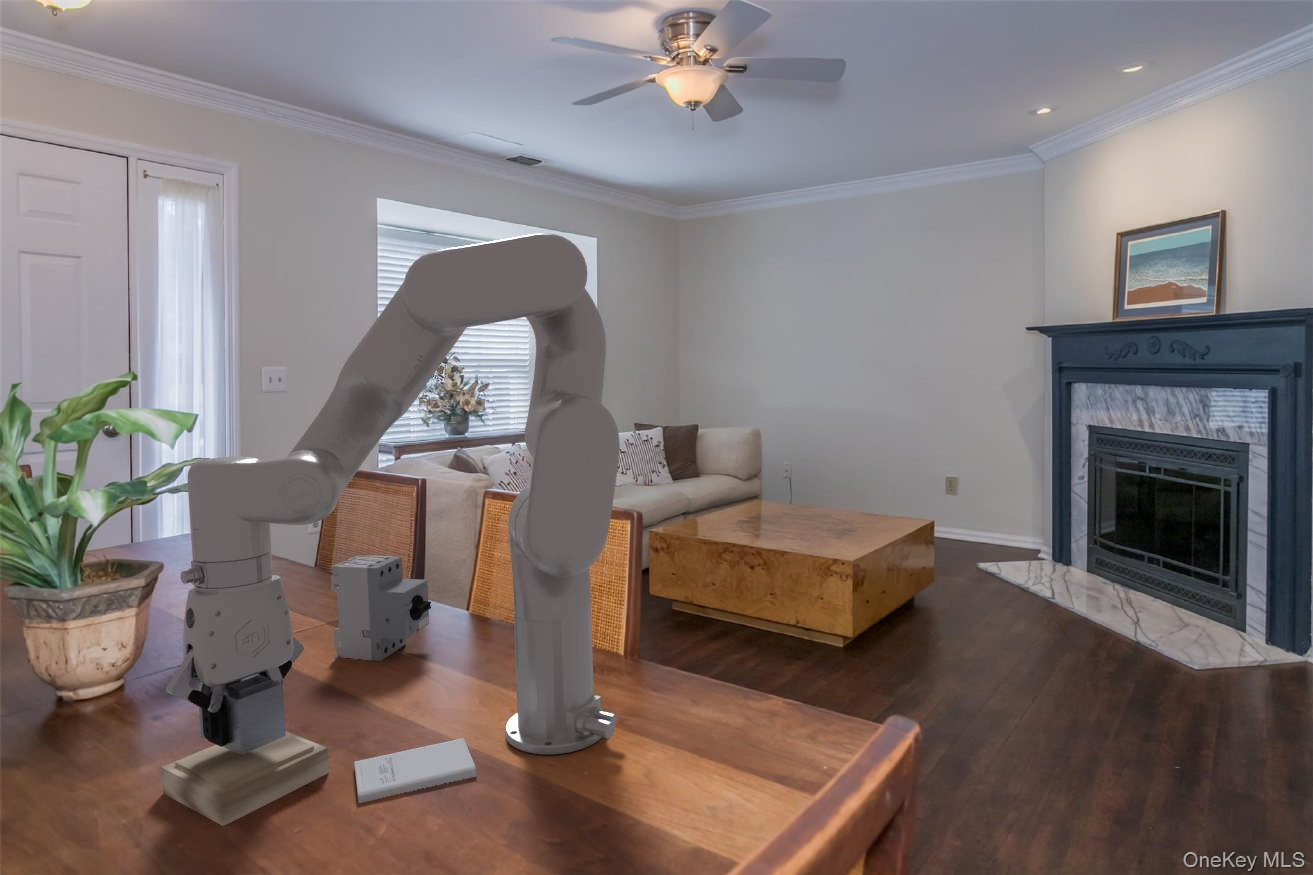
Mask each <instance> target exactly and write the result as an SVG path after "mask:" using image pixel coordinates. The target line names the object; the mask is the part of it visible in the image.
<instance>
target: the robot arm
mask: <svg viewBox="0 0 1313 875" xmlns="http://www.w3.org/2000/svg"><path fill="white" fill-rule="evenodd" d="M587 283H588V265H587V263H586V258H585V257H584V255H583V253H582V251H581V250H580V249H579V248H578V246H577V245H576V244H575V243H573V242H572V240H569V239H568V238H566V237H564V236H562V235H558V234H556V233H548V232H547V233H541V232H540V233H533V234H528V235H522V236H516V237H511V238H506V239H505V238H504V239H500V240H499V239H498V240H493V241H489V242H481V243H476V244H470V245H464V246H457V247H449V248H444V249H438V250H434V251H430V252H428V253H426V254H424V255H422V256H420V257H418V258H417V259H416V260H414V262H412V264H411V265H410V267H408V270H407V271H406V274H405V277H404V281H403V282H402V283H401V285H400V287H398V289H397V291H396V292H395V294H393V296H392V298H391V299H390V300H389V302H388V304H386V306H385V308H384V309H383V310H382V312H381V313H380V314H379V316H378V317H377V318H376V320H375V321H374V322H373V324H372V326H371V327H370V328H369V330H368V331H367V332H366V333H365V335H364V336H363V337H362V339H361V340H360V341H359V343H358V344H357V346H356V347H355V348H354V349H353V351H352V352H351V354H350V355H349V356H348V358H347V359H346V360H345V363H344V364H343V366H342V368H341V370H340V372H339V374H338V376H337V380H336V383H335V385H334V387H333V390H332V391H331V392H330V395H329V397H328V398H327V400H326V402H325V403H324V405H322V408H321V409H320V411H319V413H317V415H316V417H315V418H314V419H313V421H312V422H311V424H310V425H309V426H308V427H307V429H306V430H305V432H304V434H303V435H302V436H301V437H300V439H299V440H298V441H297V443H296V445H294V447H293V448H292V450H291V451H290V453H289V454H288V455H287V456H286V457H284V458H279V459H273V460H265V461H262V460H260V459H259V458H256V457H251V456H224V457H223V456H222V457H214V458H206V459H201V460H199V461H196V462H194V463H193V464H192V465H191V466H190V468H189V469H188V471H187V492H188V493H187V496H188V509H189V510H188V511H189V525H190V539H191V555H192V560H191V561H190V568H189V569H188V570H184V571H181V572H180V580H181V582H182V584H184V585H185V584H192V585H193V586H194V588H190V589H189V590H188V594H187V596H186V603H185V611H184V616H183V617H184V620H183V632H182V634H183V635H182V637H183V638H182V656H183V658H182V660H183V661H182V662H181V664H179V667H178V668H177V670H176V671H175V673H174V674H173V676H172V678H171V679H170V681H169V682H168V684H167V685H166V687H165V691H166V693H167V694H170V695H172V696H175V697H176V698H177V697H178V698H180V699H183V700H185V701H187V702H189V703H191V704H193V705H195V706H196V707H198V708H199V707H200V708H202V720H203V733H204V736H205V738H206V739H205V740H206V741H208V742H209V743H212V744H214V745H218V746H220V747H222V746H225V745H227V743H228V730H227V714H226V710H225V709H223V708H221V703H222V699H223V694H224V689H225V685H226V684H229V683H232V682H235V681H238V680H241V679H244V678H247V677H250V676H252V675H255V674H257V675H262V676H265V677H268V678H271V679H272V680H274V681H277V682H280V683H283V684H284V683H285V682H284V681H285V680H284V679H285V678H286V677H287V674H288V672H290V670H291V668H292V667H293V664H294V663H295V661H296V660H298V658H299V657H300V655H301V654H302V653H303V652H304V650H305V647H304V645H303V644H302V643H301V642H300V641H298V640H297V639H296V638H295V637H294V636H293V628H292V626H293V625H292V620H291V613H290V609H289V602H288V599H287V596H286V591H285V588H284V584H283V581H282V579H281V576H280V575H277V574H273V560H272V558H273V557H272V545H271V543H272V542H271V541H272V540H271V528H270V527H271V525H270V524H276V525H286V526H287V525H288V526H304V525H311V524H315V523H317V522H320V521H322V520H324V519H325V518H327V517H328V516H329V515H330V514H331V513H332V512H334V510H335V508H336V506H337V505H338V503H339V501H340V499H341V496H342V494H343V492H344V490H345V489H346V488H347V487H348V485H349V483H351V480H352V479H353V477H355V475H356V473H358V471H359V469H360V467H362V465H363V464H364V462H365V460H366V459H367V458H368V456H369V455H370V453H371V452H372V451H373V449H374V448H375V447H376V445H378V443H379V441H380V440H381V439H382V437H383V436H384V435H385V434H386V432H388V430H389V429H390V428H391V427H392V426H393V425H394V424H395V423H396V422H398V420H399V419H401V418H402V417H403V416H404V415H405V414H406V413H407V412H408V411H409V409H410V408H411V406H412V405H413V404H414V403H415V402H416V401H417V399H418V398H419V395H421V393H422V391H423V390H424V388H425V387H426V386H427V384H428V383H429V382H430V380H431V378H432V377H433V376H434V374H435V373H436V371H437V370H438V369H439V367H440V366H441V365H442V363H443V362H444V360H445V359H446V357H447V356H448V355H449V353H450V352H451V351H452V349H453V348H454V347H455V345H456V343H457V342H458V340H459V339H460V338H461V337H462V335H463V334H464V333H465V330H466V329H468V328H470V327H471V328H472V327H477V326H484V325H490V324H495V323H501V322H506V321H511V320H517V319H520V318H521V319H522V318H526V320H527V321H528V323H529V325H530V326H531V328H532V330H533V334H534V339H535V358H534V371H533V372H534V373H533V379H532V380H533V381H532V387H531V394H530V401H529V407H528V412H527V418H526V423H525V428H524V441H525V445H526V449H527V451H528V452H529V454H530V456H531V457H532V458H533V464H532V472H531V478H530V484H529V485H528V486H526V487H525V488H523V489H522V490H521V491H520V492H519V494H518V495H517V496H516V497H515V498H514V500H513V502H512V504H511V507H510V510H509V514H508V521H507V528H508V530H507V531H508V544H509V553H510V562H511V563H510V564H511V574H512V575H511V576H512V588H513V590H512V593H513V621H514V622H513V623H514V650H515V651H514V652H515V653H514V654H515V676H516V677H515V678H516V680H515V682H516V684H515V685H516V703H517V704H516V709H517V712H516V713H515V714H514V715H512V716H511V717H510V718H509V719H508V721H507V722H506V725H505V728H504V729H505V730H504V731H505V732H504V733H505V734H504V736H505V738H506V741H507V742H508V743H509V744H510V745H511V746H512V747H514V748H515V749H517V750H519V751H522V752H525V753H528V754H529V753H530V754H536V755H550V756H551V755H561V754H567V753H573V752H577V751H580V750H583V749H585V748H586V749H587V748H588V747H590V746H592V745H593V744H595V743H597V742H598V741H599V740H601V739H602V738H604V739H611V738H612V737H613V735H614V732H615V725H616V724H617V722H618V714H616V713H613V712H610V711H604V710H603V709H602V700H601V696H599V695H595V693H594V692H595V691H594V664H593V663H594V661H593V657H594V656H593V629H592V628H593V625H592V624H593V622H592V587H591V586H592V585H591V572H590V568H591V567H592V566H593V565H594V564H595V563H596V561H597V560H598V559H599V558H600V556H601V555H602V553H603V550H604V549H605V545H606V543H607V540H608V535H609V531H610V525H611V518H612V513H613V512H612V511H613V506H614V499H615V498H614V497H615V490H616V482H617V477H618V469H619V460H620V450H621V449H620V447H621V446H620V435H619V429H618V426H617V423H616V421H615V419H614V417H613V414H612V413H611V412H610V411H609V410H608V409H607V407H606V406H605V405H603V404H602V401H603V400H602V399H603V393H604V392H603V391H604V383H605V382H604V381H605V367H606V355H607V343H606V341H607V340H606V331H605V326H604V323H603V319H602V316H601V314H600V312H599V310H598V307H597V306H596V304H595V301H594V300H593V298H592V297H591V294H590V293H589V291H588V290H587V289H586V285H587ZM191 680H199V684H200V686H199V690H198V689H196V688H193V687H191V686H190V682H191Z"/></svg>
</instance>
